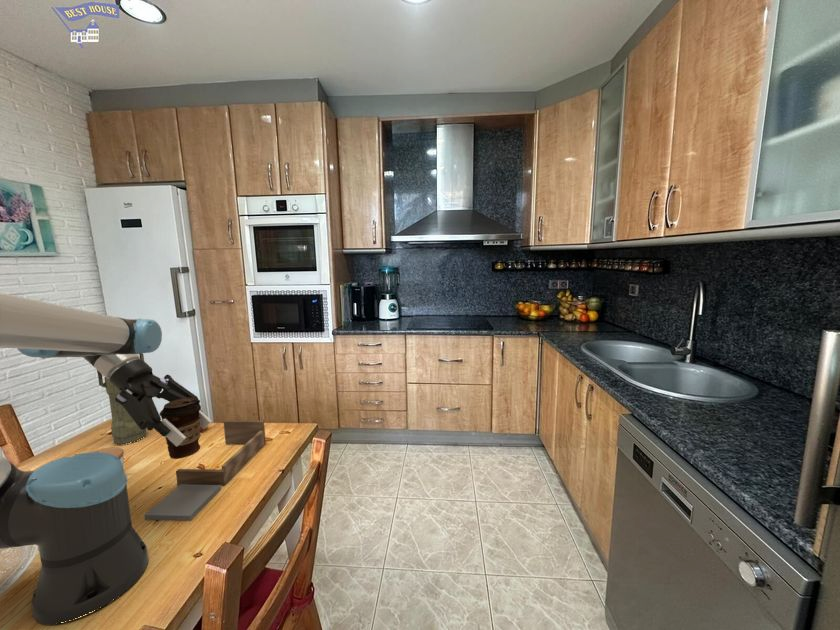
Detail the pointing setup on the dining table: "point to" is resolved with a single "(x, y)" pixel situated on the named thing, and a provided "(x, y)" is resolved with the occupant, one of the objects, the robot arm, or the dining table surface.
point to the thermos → (121, 416)
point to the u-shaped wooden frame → (236, 434)
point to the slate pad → (183, 502)
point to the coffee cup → (183, 425)
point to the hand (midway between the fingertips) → (195, 433)
